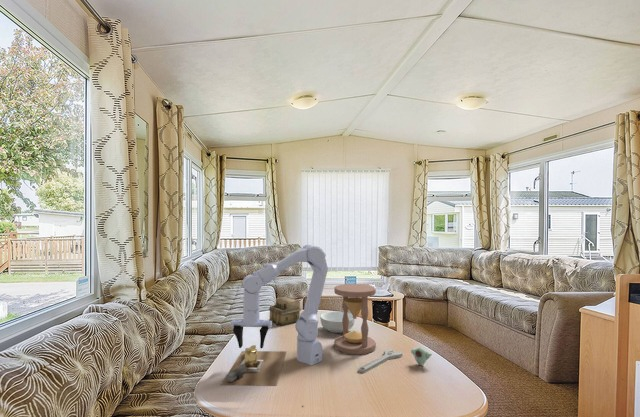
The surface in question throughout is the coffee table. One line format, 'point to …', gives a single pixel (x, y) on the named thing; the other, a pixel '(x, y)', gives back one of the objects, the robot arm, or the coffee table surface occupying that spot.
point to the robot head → (420, 355)
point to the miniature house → (285, 311)
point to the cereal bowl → (335, 321)
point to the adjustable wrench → (380, 360)
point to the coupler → (251, 357)
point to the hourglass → (354, 339)
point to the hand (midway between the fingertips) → (251, 347)
